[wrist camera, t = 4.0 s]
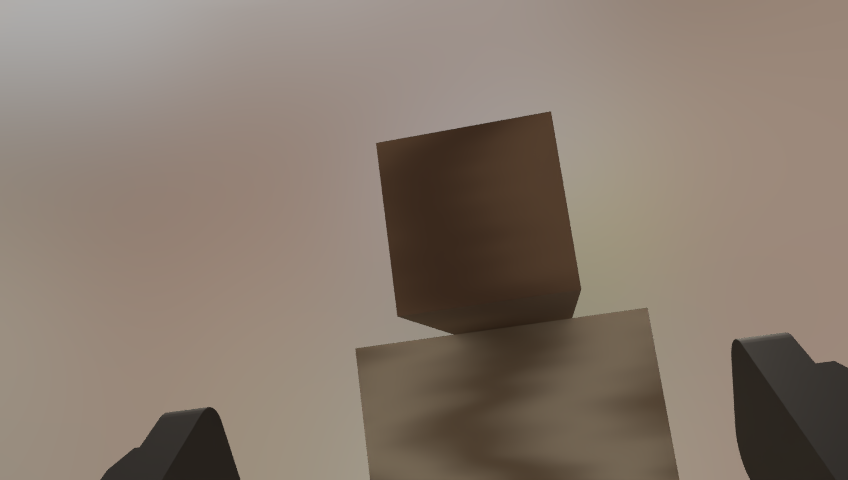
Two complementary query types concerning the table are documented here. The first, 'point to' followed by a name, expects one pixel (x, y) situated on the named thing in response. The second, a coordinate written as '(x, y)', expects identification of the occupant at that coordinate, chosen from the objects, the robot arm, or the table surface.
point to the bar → (479, 226)
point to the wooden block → (520, 404)
